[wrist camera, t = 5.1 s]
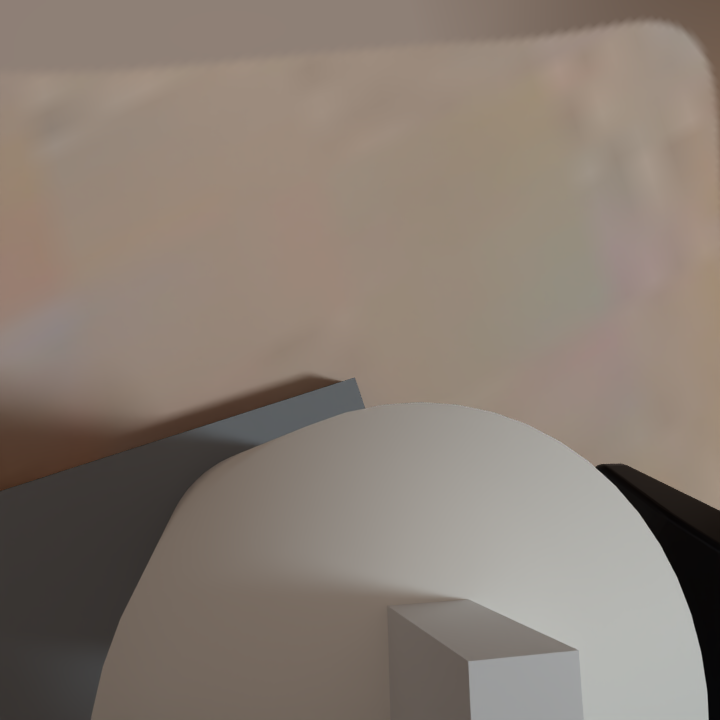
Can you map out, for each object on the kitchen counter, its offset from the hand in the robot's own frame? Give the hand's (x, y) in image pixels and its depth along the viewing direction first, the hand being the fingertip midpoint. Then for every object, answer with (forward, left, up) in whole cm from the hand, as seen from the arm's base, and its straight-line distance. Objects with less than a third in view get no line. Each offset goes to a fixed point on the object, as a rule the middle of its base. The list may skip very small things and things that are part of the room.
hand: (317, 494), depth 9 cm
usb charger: (-1, 0, -6) cm, 6 cm away
